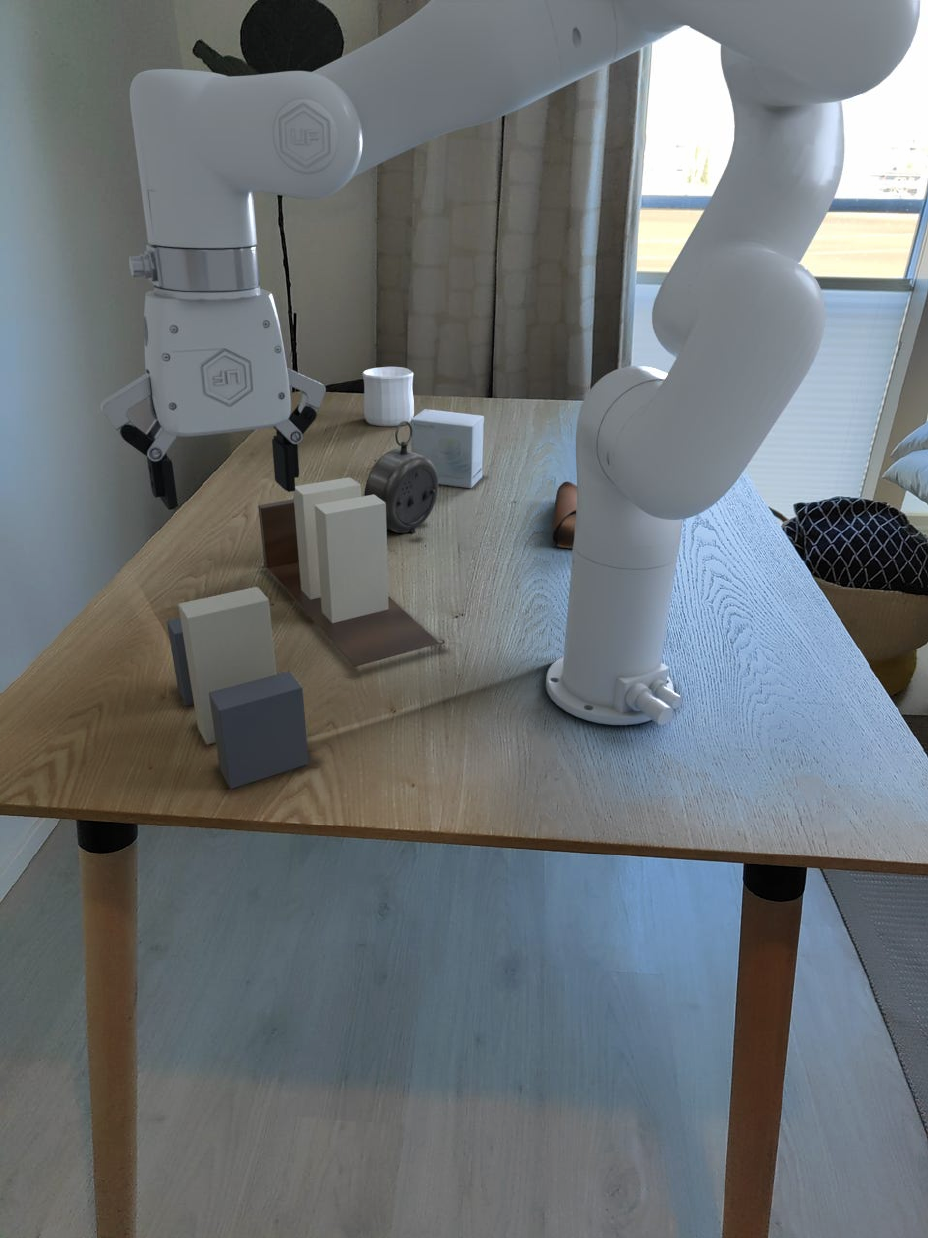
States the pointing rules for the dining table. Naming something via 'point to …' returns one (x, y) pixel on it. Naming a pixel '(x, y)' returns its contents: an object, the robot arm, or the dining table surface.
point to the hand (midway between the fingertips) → (228, 495)
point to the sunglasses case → (565, 515)
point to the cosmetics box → (450, 445)
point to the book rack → (352, 636)
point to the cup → (388, 396)
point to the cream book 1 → (225, 646)
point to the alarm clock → (404, 486)
